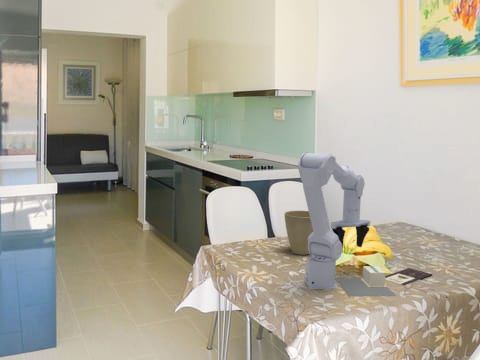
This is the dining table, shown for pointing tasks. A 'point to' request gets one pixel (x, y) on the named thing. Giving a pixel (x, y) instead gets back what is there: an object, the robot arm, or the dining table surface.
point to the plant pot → (298, 230)
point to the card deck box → (374, 276)
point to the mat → (362, 288)
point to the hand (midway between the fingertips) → (349, 247)
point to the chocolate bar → (407, 276)
